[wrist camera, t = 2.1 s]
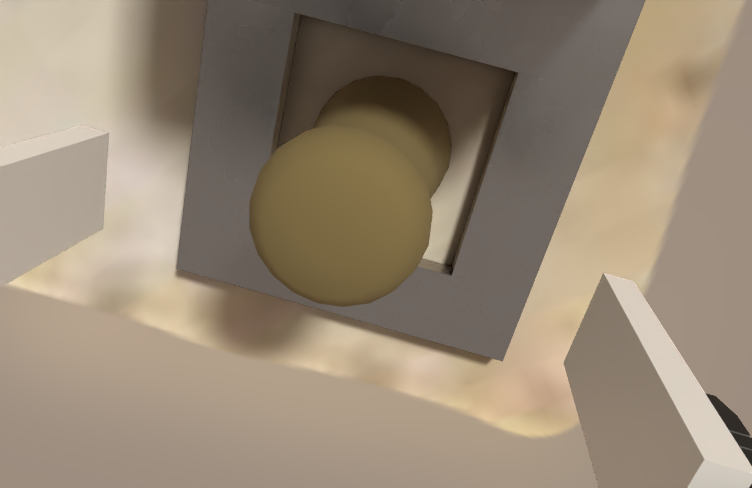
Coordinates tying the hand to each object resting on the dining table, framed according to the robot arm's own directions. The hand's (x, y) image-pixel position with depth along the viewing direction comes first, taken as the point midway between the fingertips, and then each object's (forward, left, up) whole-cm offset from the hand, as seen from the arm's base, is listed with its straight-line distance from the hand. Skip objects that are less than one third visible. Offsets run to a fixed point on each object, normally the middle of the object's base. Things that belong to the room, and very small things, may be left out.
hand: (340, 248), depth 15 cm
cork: (0, 0, -11) cm, 11 cm away
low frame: (0, 0, -11) cm, 11 cm away
